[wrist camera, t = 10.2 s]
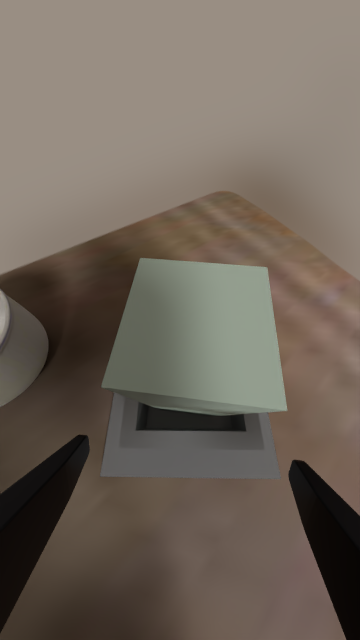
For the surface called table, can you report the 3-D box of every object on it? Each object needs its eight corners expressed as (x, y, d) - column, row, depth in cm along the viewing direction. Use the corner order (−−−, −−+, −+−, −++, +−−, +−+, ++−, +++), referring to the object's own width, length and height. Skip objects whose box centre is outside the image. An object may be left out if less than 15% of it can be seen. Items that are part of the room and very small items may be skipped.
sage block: (213, 416, 16) (287, 410, 5) (158, 409, 17) (101, 387, 5) (215, 360, 19) (267, 267, 7) (166, 355, 19) (140, 258, 7)
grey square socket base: (275, 475, 15) (313, 499, 11) (104, 473, 15) (73, 495, 11) (246, 323, 22) (263, 298, 17) (128, 323, 22) (114, 298, 17)
